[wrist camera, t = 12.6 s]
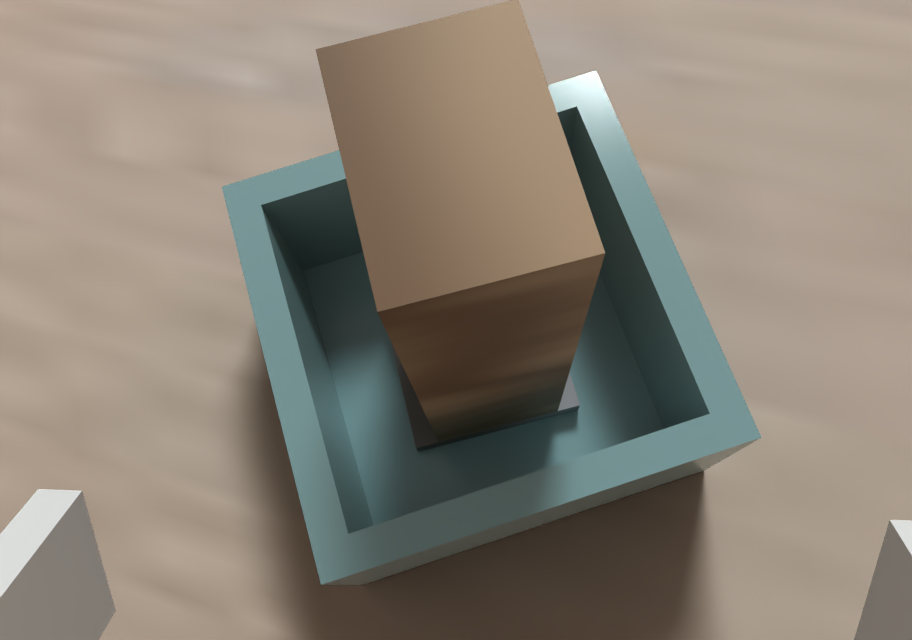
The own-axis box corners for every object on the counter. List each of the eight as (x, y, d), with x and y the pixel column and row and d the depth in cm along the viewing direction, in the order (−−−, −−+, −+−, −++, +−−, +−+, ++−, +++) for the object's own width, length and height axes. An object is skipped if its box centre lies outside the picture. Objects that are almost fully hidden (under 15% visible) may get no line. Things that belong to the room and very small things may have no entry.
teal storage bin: (578, 170, 24) (595, 70, 20) (704, 470, 21) (760, 437, 17) (277, 265, 24) (222, 186, 19) (362, 584, 21) (321, 584, 16)
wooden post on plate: (532, 263, 23) (555, -11, 12) (578, 409, 21) (648, 242, 11) (382, 301, 23) (277, 58, 12) (418, 451, 21) (334, 322, 11)
